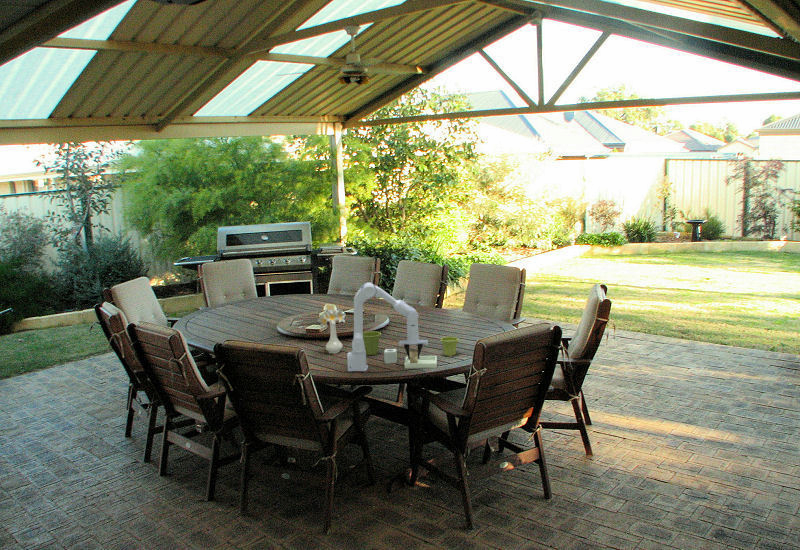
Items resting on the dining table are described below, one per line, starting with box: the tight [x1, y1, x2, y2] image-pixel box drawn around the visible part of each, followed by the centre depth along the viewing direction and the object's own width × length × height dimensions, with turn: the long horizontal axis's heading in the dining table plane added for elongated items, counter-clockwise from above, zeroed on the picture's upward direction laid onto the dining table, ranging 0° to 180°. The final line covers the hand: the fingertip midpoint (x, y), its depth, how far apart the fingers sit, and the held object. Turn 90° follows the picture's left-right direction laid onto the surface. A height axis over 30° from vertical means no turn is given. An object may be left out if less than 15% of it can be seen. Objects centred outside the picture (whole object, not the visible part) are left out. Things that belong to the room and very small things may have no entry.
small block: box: [409, 349, 418, 363], centre depth 318 cm, size 4×4×6 cm
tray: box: [404, 355, 438, 370], centre depth 319 cm, size 16×14×2 cm
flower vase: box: [316, 306, 347, 355], centre depth 348 cm, size 13×18×25 cm
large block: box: [383, 348, 398, 364], centre depth 327 cm, size 6×6×6 cm
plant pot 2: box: [440, 336, 459, 357], centre depth 335 cm, size 9×9×9 cm
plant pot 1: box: [363, 331, 382, 356], centre depth 343 cm, size 12×12×11 cm
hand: (413, 358), depth 318 cm, fingers open, 4 cm apart
